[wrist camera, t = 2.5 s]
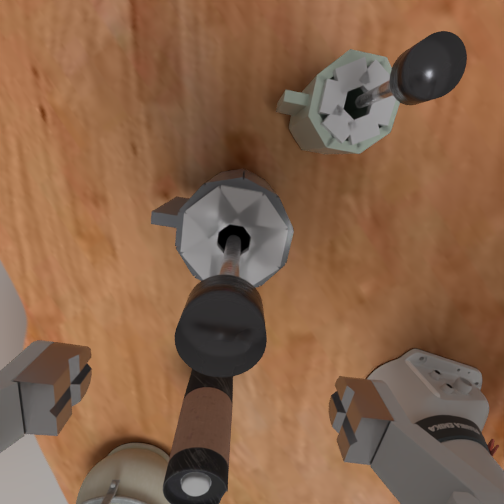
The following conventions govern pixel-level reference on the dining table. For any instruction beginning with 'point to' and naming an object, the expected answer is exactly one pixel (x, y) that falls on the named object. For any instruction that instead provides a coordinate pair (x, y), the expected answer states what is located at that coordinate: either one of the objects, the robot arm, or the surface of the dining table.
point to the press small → (341, 106)
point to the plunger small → (422, 72)
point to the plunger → (222, 321)
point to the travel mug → (201, 443)
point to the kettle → (127, 477)
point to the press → (230, 226)
